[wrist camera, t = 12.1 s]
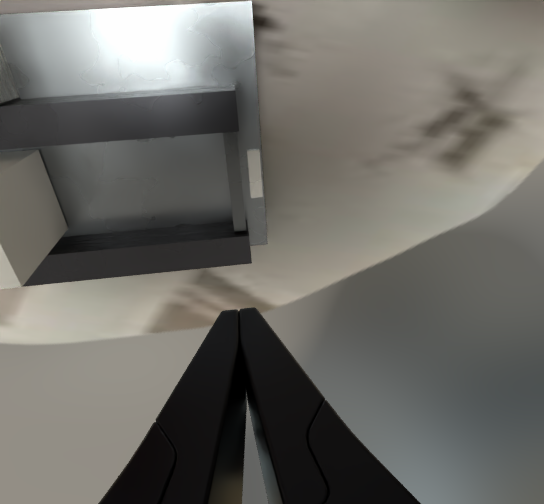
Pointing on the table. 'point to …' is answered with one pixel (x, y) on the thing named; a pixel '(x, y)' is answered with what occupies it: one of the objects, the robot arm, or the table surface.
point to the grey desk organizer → (139, 134)
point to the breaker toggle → (26, 216)
